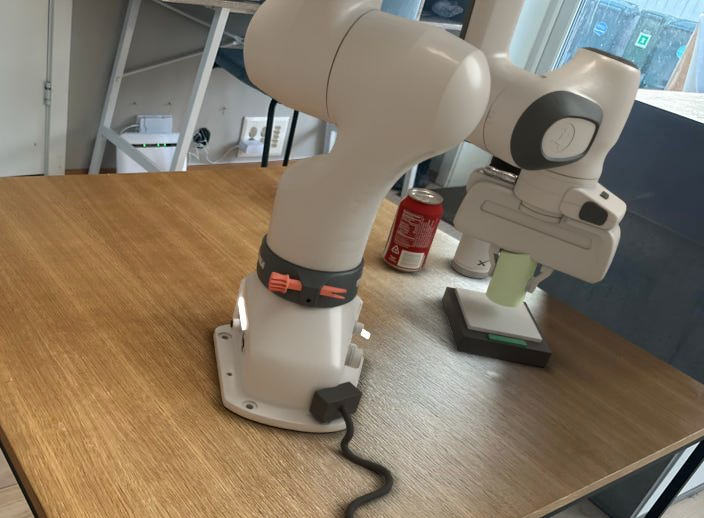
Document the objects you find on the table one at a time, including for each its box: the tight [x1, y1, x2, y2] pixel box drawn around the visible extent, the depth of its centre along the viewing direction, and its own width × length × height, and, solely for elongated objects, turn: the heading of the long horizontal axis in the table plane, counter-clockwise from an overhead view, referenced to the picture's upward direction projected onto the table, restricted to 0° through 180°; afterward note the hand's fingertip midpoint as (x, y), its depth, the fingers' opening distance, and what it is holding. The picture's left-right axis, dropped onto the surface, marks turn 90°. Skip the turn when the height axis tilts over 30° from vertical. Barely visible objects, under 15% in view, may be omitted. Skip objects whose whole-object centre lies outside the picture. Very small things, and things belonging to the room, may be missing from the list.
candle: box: [485, 249, 539, 307], centre depth 96 cm, size 5×5×8 cm
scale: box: [441, 286, 553, 368], centre depth 100 cm, size 14×12×3 cm
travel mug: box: [451, 155, 522, 279], centre depth 111 cm, size 6×7×20 cm
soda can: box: [382, 187, 444, 273], centre depth 111 cm, size 7×7×12 cm
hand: (510, 283), depth 97 cm, fingers closed on candle, 3 cm apart
